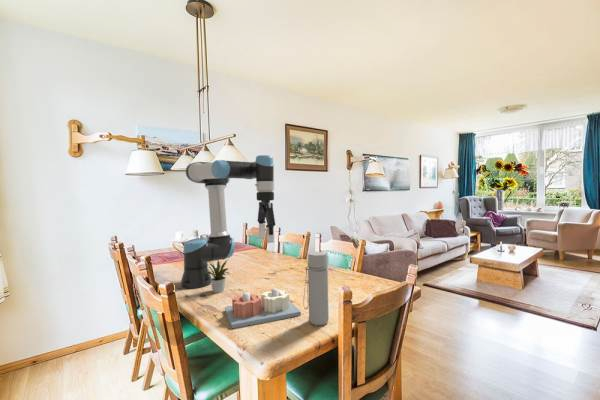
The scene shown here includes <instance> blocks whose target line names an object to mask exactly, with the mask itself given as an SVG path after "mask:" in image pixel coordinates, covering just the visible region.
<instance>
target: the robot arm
mask: <svg viewBox="0 0 600 400" xmlns="http://www.w3.org/2000/svg"><path fill="white" fill-rule="evenodd" d="M274 166H275V164H274V158H273V156H272V155H268V154H267V155H265V154H264V155H263V154H261V155H260V154H259V155H257V156H256V157H255V160H254V161H236V160H235V161H234V160H225V159H219V160H214V161H212V162H211V161H210V162H208V161H206V162H205V161H195V162H191V163H189V164H188V165H187V166H186V168H185V176H186V178H187V179H188V180H189V181H191V182H192V183H195V184H204V188H205V189H206V190H207V193H208V208H209V209H208V211H209V220H210V221H209V223H210V234H208V236H207V237H208V238H207V237H200V238H198V237H197V238H192V239H189V240H187V241H185V242H184V244H183V250H182V252H183V268H184V269H183V273H182V277H181V280H180V287H182V288H183V289H184V288H185V289H198V288H203V287H207V286H209V285H212V284H211V278H212V276H211V274H208V273H206V272H207V271H209V270H210V269H209V263H210V262H211V263H212V262H215V261H218V258H219V260H221V261H222V260H227V259H229V258H231V257H232V256H233V254H234V253H235V250H236V244H235V243H236V242H235V240H234V238H233V237H231V234H230V233H229V232H228V228H227V226H228V225H227V214H226V201H225V189H226V188H227V184H229V183H230V181H231V180H230V179H244V180H255V179H256V180H255V182H256V183H255V184H254V185H255V186H256V191H257V192H256V201H259V202H258V211H257V213H258V214H257V220H256V221H257V222H258V238H259V239H266V243H267V244H271V243H275V234H274V233H275V229H274V228H275V226H276V219H275V215H274V214H275V213H274V204H273V202H271V201H274V200H275V192H274V190H275V182H274V181H275V179H274V177H275V176H274V175H275V174H274V171H275V170H274ZM210 260H211V261H210ZM204 262H205V263H204ZM209 272H210V271H209Z"/></svg>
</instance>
